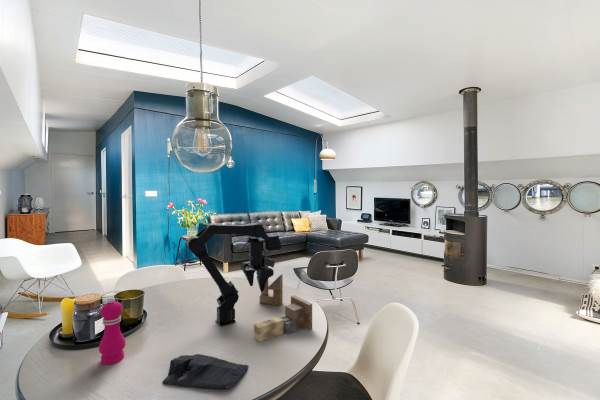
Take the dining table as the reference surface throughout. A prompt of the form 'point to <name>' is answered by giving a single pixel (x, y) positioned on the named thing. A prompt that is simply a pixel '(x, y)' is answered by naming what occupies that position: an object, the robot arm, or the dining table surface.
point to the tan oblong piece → (269, 328)
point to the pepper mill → (112, 333)
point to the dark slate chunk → (204, 372)
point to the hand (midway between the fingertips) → (256, 288)
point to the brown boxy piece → (298, 315)
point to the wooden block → (277, 292)
